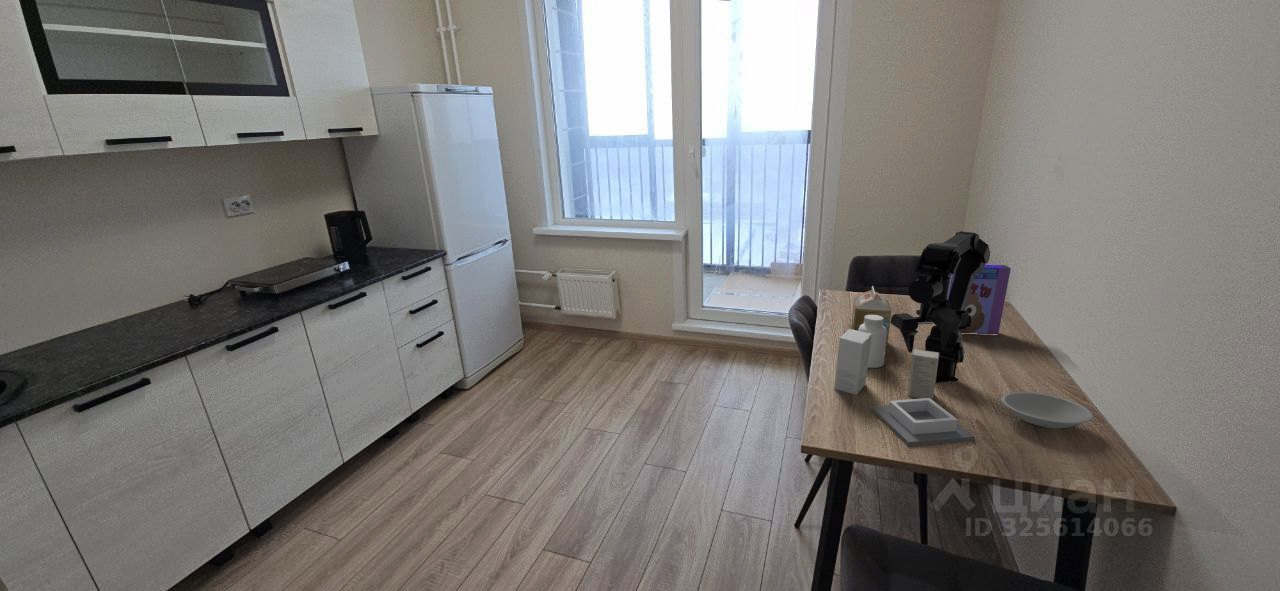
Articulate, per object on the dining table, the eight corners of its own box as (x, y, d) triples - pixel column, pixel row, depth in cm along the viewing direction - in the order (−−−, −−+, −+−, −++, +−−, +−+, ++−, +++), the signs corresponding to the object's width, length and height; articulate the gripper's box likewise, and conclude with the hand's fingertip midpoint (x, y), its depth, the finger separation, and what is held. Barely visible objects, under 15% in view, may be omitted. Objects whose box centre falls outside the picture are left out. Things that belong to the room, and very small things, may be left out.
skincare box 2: (934, 394, 141) (940, 352, 137) (932, 401, 137) (939, 358, 134) (908, 388, 144) (913, 348, 140) (906, 395, 140) (911, 353, 137)
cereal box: (942, 333, 182) (953, 266, 175) (937, 329, 186) (947, 263, 179) (997, 336, 179) (1010, 267, 171) (991, 331, 183) (1003, 264, 176)
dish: (1008, 435, 121) (1012, 416, 120) (989, 405, 134) (993, 388, 133) (1100, 447, 116) (1106, 427, 114) (1071, 415, 129) (1076, 396, 127)
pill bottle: (857, 356, 165) (862, 311, 161) (885, 361, 162) (890, 315, 157) (853, 365, 159) (857, 319, 155) (881, 370, 155) (887, 323, 151)
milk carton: (850, 337, 181) (855, 284, 175) (883, 340, 177) (889, 286, 172) (851, 349, 171) (856, 293, 166) (886, 352, 168) (893, 296, 162)
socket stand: (930, 406, 135) (932, 392, 134) (974, 440, 119) (977, 425, 118) (871, 410, 133) (872, 396, 132) (908, 445, 118) (910, 430, 117)
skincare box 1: (843, 378, 151) (848, 328, 146) (867, 384, 147) (873, 333, 142) (833, 389, 145) (838, 337, 140) (857, 396, 141) (863, 342, 136)
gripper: (919, 306, 124) (910, 366, 128) (993, 301, 125) (982, 361, 130) (892, 292, 134) (886, 348, 139) (961, 288, 136) (952, 344, 140)
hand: (926, 350), depth 137 cm, fingers open, 9 cm apart
